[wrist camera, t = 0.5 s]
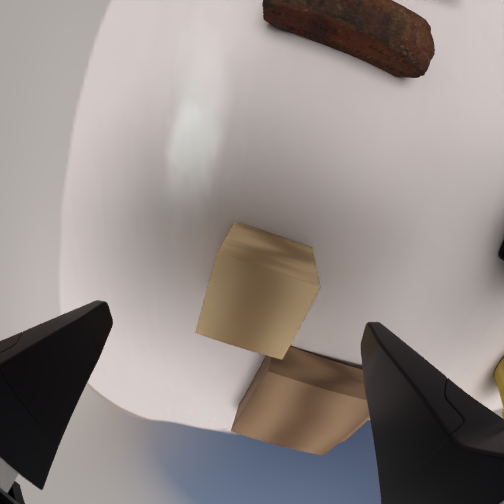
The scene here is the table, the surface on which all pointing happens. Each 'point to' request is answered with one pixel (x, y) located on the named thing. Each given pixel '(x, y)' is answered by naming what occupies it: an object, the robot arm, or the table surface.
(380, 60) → the brick
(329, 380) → the tan flat square block
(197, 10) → the table surface
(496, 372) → the plant pot
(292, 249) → the oak cube
